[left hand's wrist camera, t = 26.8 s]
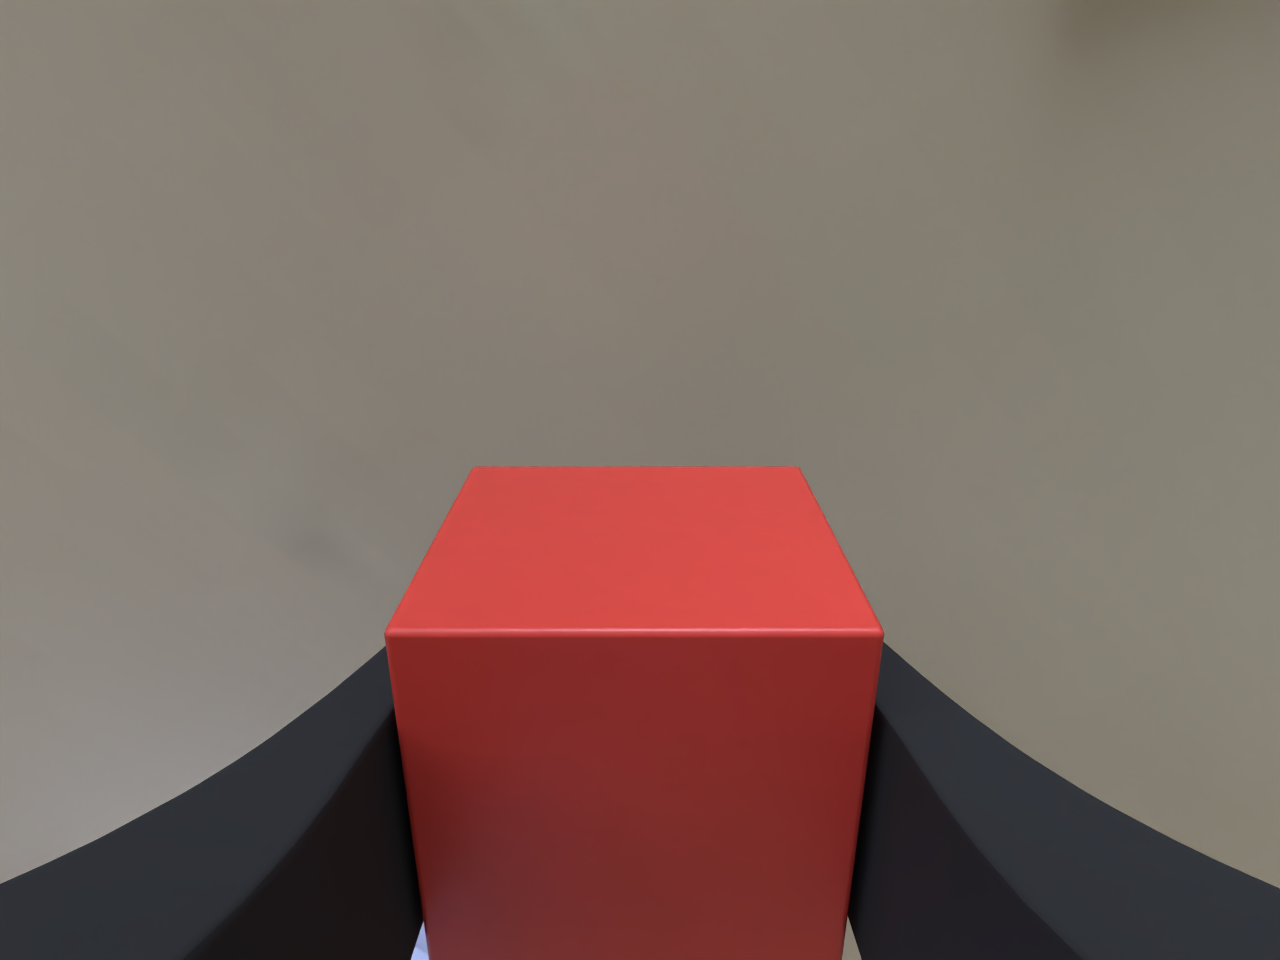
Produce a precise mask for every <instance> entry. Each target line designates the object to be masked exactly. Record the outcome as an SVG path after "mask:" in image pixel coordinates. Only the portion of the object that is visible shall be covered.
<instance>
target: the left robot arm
mask: <svg viewBox="0 0 1280 960" xmlns="http://www.w3.org/2000/svg"><path fill="white" fill-rule="evenodd" d="M848 918H849V921H850V924H851V927H852V930H853V933H854V936H855V940H856V943H857V946H858V949H859V952H860V955H861V959H862V960H1280V889H1279V888H1277V887H1275V886H1272V885H1270V884H1268V883H1266V882H1263V881H1261V880H1259V879H1257V878H1254V877H1252V876H1250V875H1248V874H1246V873H1243V872H1241V871H1239V870H1237V869H1234V868H1232V867H1230V866H1228V865H1225V864H1223V863H1221V862H1219V861H1217V860H1215V859H1212V858H1210V857H1208V856H1206V855H1204V854H1202V853H1200V852H1198V851H1196V850H1194V849H1192V848H1190V847H1188V846H1185V845H1183V844H1181V843H1179V842H1177V841H1175V840H1173V839H1171V838H1169V837H1167V836H1166V835H1164V834H1162V833H1160V832H1158V831H1156V830H1154V829H1152V828H1150V827H1149V826H1147V825H1145V824H1143V823H1141V822H1139V821H1137V820H1135V819H1133V818H1132V817H1130V816H1128V815H1126V814H1124V813H1122V812H1120V811H1118V810H1116V809H1115V808H1113V807H1111V806H1109V805H1108V804H1106V803H1104V802H1102V801H1101V800H1099V799H1097V798H1095V797H1094V796H1092V795H1090V794H1088V793H1087V792H1085V791H1083V790H1082V789H1080V788H1078V787H1077V786H1075V785H1074V784H1072V783H1070V782H1069V781H1067V780H1066V779H1064V778H1062V777H1061V776H1059V775H1058V774H1056V773H1054V772H1053V771H1051V770H1050V769H1048V768H1046V767H1045V766H1043V765H1042V764H1040V763H1038V762H1037V761H1035V760H1034V759H1032V758H1031V757H1029V756H1028V755H1026V754H1025V753H1023V752H1022V751H1020V750H1019V749H1017V748H1016V747H1014V746H1013V745H1012V744H1010V743H1009V742H1007V741H1006V740H1005V739H1003V738H1002V737H1001V736H999V735H998V734H996V733H995V732H994V731H992V730H991V729H990V728H988V727H987V726H985V725H984V724H983V723H981V722H980V721H979V720H977V719H976V718H975V717H973V716H972V715H971V714H969V713H968V712H967V711H965V710H964V709H963V708H962V707H960V706H959V705H958V704H956V703H955V702H954V701H953V700H951V699H950V698H949V697H948V696H946V695H945V694H944V693H943V692H941V691H940V690H939V689H938V688H937V687H935V686H934V685H933V684H932V683H931V682H929V681H928V680H927V679H926V678H925V677H923V676H922V675H921V674H920V673H919V672H918V671H916V670H915V669H914V668H913V667H912V666H910V665H909V664H908V663H907V662H906V661H905V660H904V659H902V658H901V657H900V656H899V655H898V654H897V653H896V652H894V651H893V650H892V649H891V648H890V647H889V646H888V645H886V644H885V643H884V642H883V647H882V654H881V662H880V670H879V677H878V685H877V693H876V700H875V708H874V716H873V723H872V731H871V739H870V747H869V754H868V762H867V770H866V777H865V785H864V793H863V800H862V808H861V816H860V823H859V831H858V839H857V846H856V854H855V862H854V870H853V877H852V885H851V893H850V900H849V908H848ZM0 960H429V957H428V950H427V943H426V935H425V928H424V921H423V913H422V906H421V899H420V891H419V884H418V877H417V869H416V862H415V855H414V847H413V840H412V833H411V825H410V818H409V811H408V803H407V796H406V789H405V781H404V774H403V767H402V759H401V752H400V745H399V737H398V730H397V723H396V715H395V708H394V701H393V693H392V686H391V679H390V671H389V664H388V657H387V649H386V646H385V647H384V648H383V649H382V650H380V651H379V652H378V653H377V654H376V655H375V656H373V657H372V658H371V659H370V660H369V661H368V662H366V663H365V664H364V665H363V666H362V667H360V668H359V669H358V670H357V671H356V672H354V673H353V674H352V675H351V676H349V677H348V678H347V679H346V680H345V681H343V682H342V683H341V684H340V685H339V686H337V687H336V688H335V689H334V690H333V691H331V692H330V693H329V694H328V695H326V696H325V697H324V698H322V699H321V700H320V701H318V702H317V703H316V704H314V705H313V706H312V707H310V708H309V709H308V710H306V711H305V712H304V713H302V714H301V715H300V716H298V717H297V718H296V719H294V720H293V721H292V722H290V723H289V724H288V725H287V726H285V727H284V728H283V729H281V730H280V731H279V732H277V733H276V734H275V735H273V736H272V737H270V738H269V739H268V740H266V741H265V742H263V743H262V744H260V745H259V746H258V747H256V748H255V749H253V750H252V751H250V752H249V753H247V754H246V755H244V756H243V757H241V758H240V759H238V760H237V761H235V762H233V763H232V764H230V765H229V766H227V767H225V768H224V769H222V770H220V771H219V772H217V773H216V774H214V775H212V776H211V777H209V778H208V779H206V780H204V781H203V782H201V783H200V784H198V785H196V786H195V787H193V788H191V789H189V790H188V791H186V792H184V793H183V794H181V795H179V796H177V797H175V798H173V799H172V800H170V801H168V802H166V803H164V804H162V805H160V806H159V807H157V808H155V809H153V810H151V811H149V812H148V813H146V814H144V815H142V816H140V817H138V818H136V819H135V820H133V821H131V822H129V823H127V824H125V825H123V826H122V827H120V828H118V829H116V830H114V831H112V832H110V833H109V834H107V835H105V836H103V837H101V838H99V839H97V840H95V841H93V842H91V843H89V844H87V845H84V846H82V847H80V848H78V849H76V850H74V851H72V852H70V853H68V854H66V855H63V856H61V857H59V858H57V859H55V860H53V861H51V862H49V863H46V864H44V865H42V866H40V867H37V868H35V869H33V870H31V871H29V872H26V873H24V874H22V875H20V876H17V877H15V878H13V879H11V880H8V881H6V882H4V883H2V884H0Z"/></svg>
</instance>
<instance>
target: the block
mask: <svg viewBox="0 0 1280 960" xmlns="http://www.w3.org/2000/svg"><path fill="white" fill-rule="evenodd" d="M384 635H385V642H386V649H387V657H388V664H389V671H390V679H391V686H392V693H393V701H394V708H395V715H396V723H397V730H398V737H399V745H400V752H401V759H402V767H403V774H404V781H405V789H406V796H407V803H408V811H409V818H410V825H411V833H412V840H413V847H414V855H415V862H416V869H417V877H418V884H419V891H420V899H421V906H422V913H423V921H424V928H425V935H426V943H427V950H428V957H429V960H842V954H843V946H844V939H845V931H846V923H847V916H848V908H849V900H850V893H851V885H852V877H853V870H854V862H855V854H856V846H857V839H858V831H859V823H860V816H861V808H862V800H863V793H864V785H865V777H866V770H867V762H868V754H869V747H870V739H871V731H872V723H873V716H874V708H875V700H876V693H877V685H878V677H879V670H880V662H881V654H882V647H883V639H884V632H883V629H882V627H881V625H880V623H879V621H878V619H877V617H876V615H875V613H874V611H873V609H872V607H871V605H870V603H869V601H868V600H867V598H866V596H865V594H864V592H863V590H862V588H861V586H860V584H859V582H858V580H857V578H856V576H855V574H854V572H853V570H852V568H851V567H850V565H849V563H848V561H847V559H846V557H845V555H844V553H843V551H842V549H841V547H840V545H839V543H838V541H837V539H836V537H835V535H834V534H833V532H832V530H831V528H830V526H829V524H828V522H827V520H826V518H825V516H824V514H823V512H822V510H821V508H820V506H819V504H818V502H817V500H816V499H815V497H814V495H813V493H812V491H811V489H810V487H809V485H808V483H807V481H806V479H805V477H804V475H803V473H802V471H801V469H800V468H798V467H474V468H472V470H471V472H470V474H469V475H468V477H467V479H466V481H465V483H464V485H463V487H462V488H461V490H460V492H459V494H458V496H457V498H456V500H455V501H454V503H453V505H452V507H451V509H450V511H449V513H448V514H447V516H446V518H445V520H444V522H443V524H442V526H441V527H440V529H439V531H438V533H437V535H436V537H435V539H434V540H433V542H432V544H431V546H430V548H429V550H428V552H427V553H426V555H425V557H424V559H423V561H422V563H421V565H420V567H419V568H418V570H417V572H416V574H415V576H414V578H413V580H412V581H411V583H410V585H409V587H408V589H407V591H406V593H405V594H404V596H403V598H402V600H401V602H400V604H399V606H398V607H397V609H396V611H395V613H394V615H393V617H392V619H391V620H390V622H389V624H388V626H387V628H386V630H385V633H384Z"/></svg>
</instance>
